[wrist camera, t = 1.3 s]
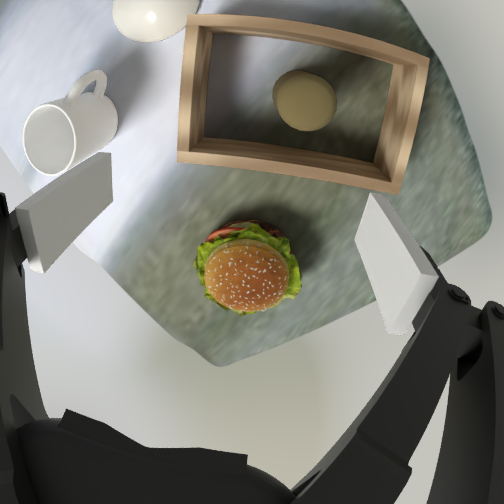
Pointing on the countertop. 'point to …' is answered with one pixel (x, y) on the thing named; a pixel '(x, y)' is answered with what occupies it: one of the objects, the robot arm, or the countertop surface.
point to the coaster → (152, 18)
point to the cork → (304, 100)
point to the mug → (70, 127)
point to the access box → (287, 158)
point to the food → (247, 267)
